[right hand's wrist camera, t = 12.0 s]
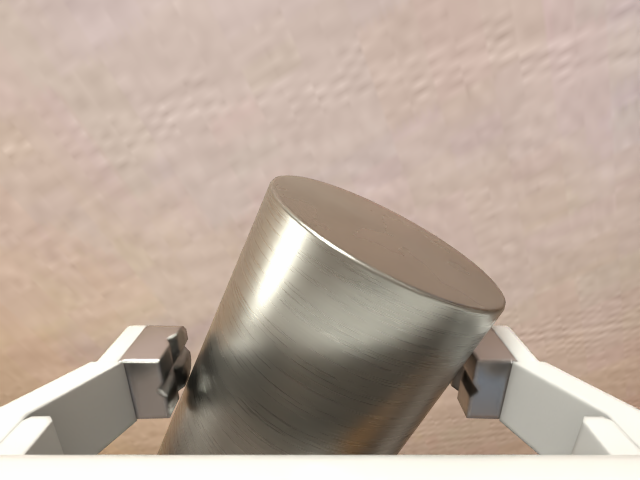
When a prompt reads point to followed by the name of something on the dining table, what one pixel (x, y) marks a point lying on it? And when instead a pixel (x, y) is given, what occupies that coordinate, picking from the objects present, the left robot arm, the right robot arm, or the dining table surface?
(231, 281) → the rod
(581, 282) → the dining table surface
